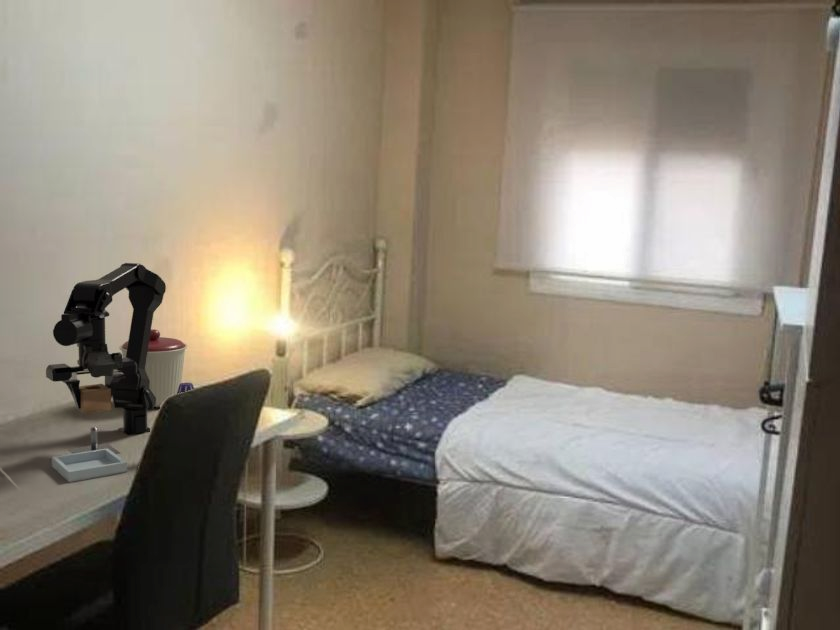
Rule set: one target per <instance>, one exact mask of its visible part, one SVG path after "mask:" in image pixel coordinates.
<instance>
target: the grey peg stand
mask: <svg viewBox="0 0 840 630" xmlns="http://www.w3.org/2000/svg"><path fill="white" fill-rule="evenodd" d="M98 441H99V440H98V427H96V426H93V427H90V445H88V446H82V447H75V448H70V449H69V448H68V449H67V450H68V451H69V452H70V453H71V454H74V453H81V452H87V451H93V450H100V449H106V448H108V449H109V450H111V451H112V452H113V453H115V454H116V455H120V454H121V452H120V451H119V450H117V449H116V448H115V447H113V446H112V445H110V444H109V443H102V444H98Z"/></svg>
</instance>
